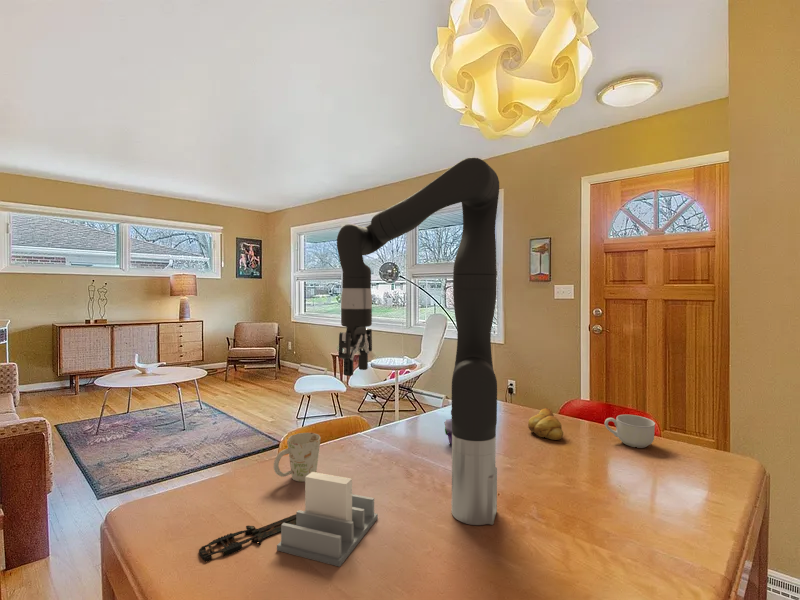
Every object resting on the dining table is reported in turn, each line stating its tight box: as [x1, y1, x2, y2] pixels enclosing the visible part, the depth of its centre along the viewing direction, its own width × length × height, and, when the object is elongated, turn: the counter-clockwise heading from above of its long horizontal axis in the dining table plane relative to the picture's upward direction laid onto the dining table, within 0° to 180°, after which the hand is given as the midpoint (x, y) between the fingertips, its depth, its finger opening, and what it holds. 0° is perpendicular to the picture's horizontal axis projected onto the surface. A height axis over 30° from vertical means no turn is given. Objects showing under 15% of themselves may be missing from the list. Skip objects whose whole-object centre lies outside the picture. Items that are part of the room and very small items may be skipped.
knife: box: [198, 513, 296, 563], centre depth 81 cm, size 25×6×1 cm, turn 126°
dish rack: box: [276, 493, 378, 568], centre depth 81 cm, size 16×13×4 cm
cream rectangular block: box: [304, 471, 353, 521], centre depth 81 cm, size 2×9×10 cm, turn 70°
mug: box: [273, 432, 321, 483], centre depth 105 cm, size 8×13×10 cm, turn 137°
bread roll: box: [527, 407, 564, 441], centre depth 138 cm, size 13×10×8 cm
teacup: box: [604, 414, 656, 449], centre depth 131 cm, size 14×11×8 cm
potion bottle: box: [444, 409, 452, 446], centre depth 130 cm, size 9×9×12 cm
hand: (356, 372), depth 102 cm, fingers open, 8 cm apart
